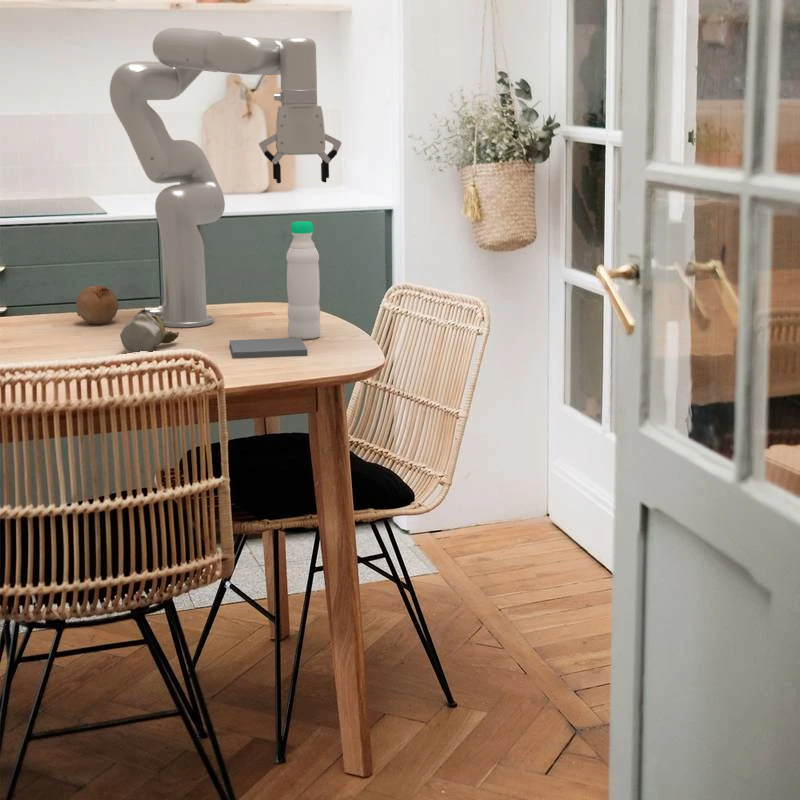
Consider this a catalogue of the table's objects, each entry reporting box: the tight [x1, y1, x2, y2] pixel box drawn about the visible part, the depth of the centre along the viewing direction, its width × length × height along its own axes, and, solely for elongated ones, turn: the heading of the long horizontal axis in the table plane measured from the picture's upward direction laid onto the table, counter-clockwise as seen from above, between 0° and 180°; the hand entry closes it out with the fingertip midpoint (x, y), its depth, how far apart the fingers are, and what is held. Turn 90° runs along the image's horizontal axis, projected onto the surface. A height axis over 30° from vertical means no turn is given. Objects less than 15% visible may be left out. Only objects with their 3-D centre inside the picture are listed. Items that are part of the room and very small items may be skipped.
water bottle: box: [285, 220, 321, 341], centre depth 277 cm, size 7×7×25 cm
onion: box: [75, 284, 119, 325], centre depth 296 cm, size 10×9×10 cm
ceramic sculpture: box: [119, 309, 180, 353], centre depth 267 cm, size 11×9×15 cm
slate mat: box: [229, 337, 308, 359], centre depth 266 cm, size 15×13×1 cm
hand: (301, 182), depth 272 cm, fingers open, 9 cm apart
